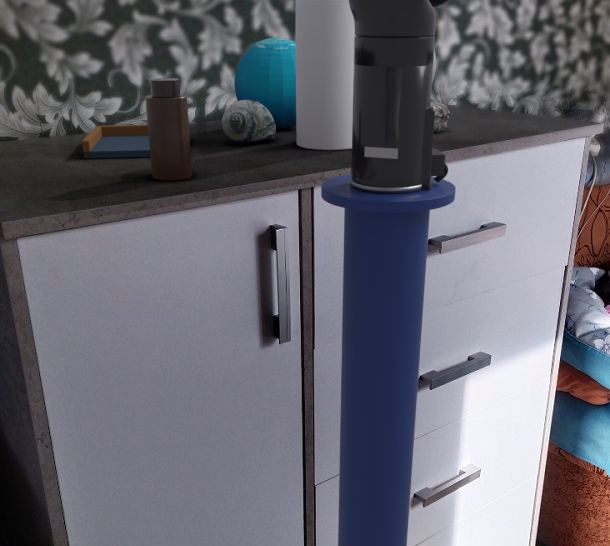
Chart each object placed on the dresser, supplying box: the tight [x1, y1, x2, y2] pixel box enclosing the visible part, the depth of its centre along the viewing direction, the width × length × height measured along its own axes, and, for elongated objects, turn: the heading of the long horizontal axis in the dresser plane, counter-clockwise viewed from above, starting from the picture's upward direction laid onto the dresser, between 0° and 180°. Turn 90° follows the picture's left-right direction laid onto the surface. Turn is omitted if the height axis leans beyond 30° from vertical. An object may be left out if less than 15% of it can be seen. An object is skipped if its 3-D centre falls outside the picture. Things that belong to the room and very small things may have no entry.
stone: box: [431, 101, 451, 133], centre depth 133 cm, size 13×6×10 cm
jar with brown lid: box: [144, 77, 193, 182], centre depth 98 cm, size 5×5×12 cm
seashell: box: [221, 100, 277, 145], centre depth 123 cm, size 6×8×12 cm
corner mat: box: [81, 124, 151, 159], centre depth 119 cm, size 15×15×2 cm
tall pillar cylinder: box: [294, 0, 356, 151], centre depth 117 cm, size 11×11×25 cm
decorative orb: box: [233, 37, 296, 130], centre depth 134 cm, size 15×15×15 cm
